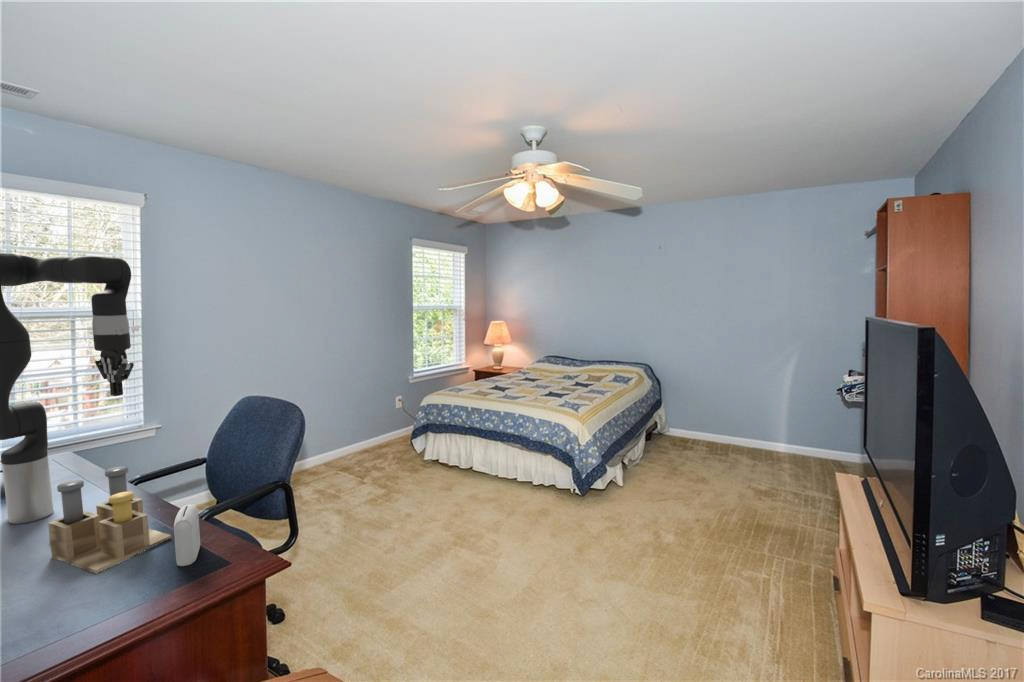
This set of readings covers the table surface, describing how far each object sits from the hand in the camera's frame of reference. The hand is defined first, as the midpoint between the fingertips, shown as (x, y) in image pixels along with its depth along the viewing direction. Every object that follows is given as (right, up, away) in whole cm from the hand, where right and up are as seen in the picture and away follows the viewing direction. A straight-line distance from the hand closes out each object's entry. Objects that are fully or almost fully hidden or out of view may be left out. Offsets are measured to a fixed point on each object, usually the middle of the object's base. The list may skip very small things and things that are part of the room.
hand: (117, 395), depth 130 cm
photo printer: (+27, -39, -11) cm, 49 cm away
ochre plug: (+10, -34, -10) cm, 37 cm away
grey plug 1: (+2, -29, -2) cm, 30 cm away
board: (+6, -38, -8) cm, 39 cm away
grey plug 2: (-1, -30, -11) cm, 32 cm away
